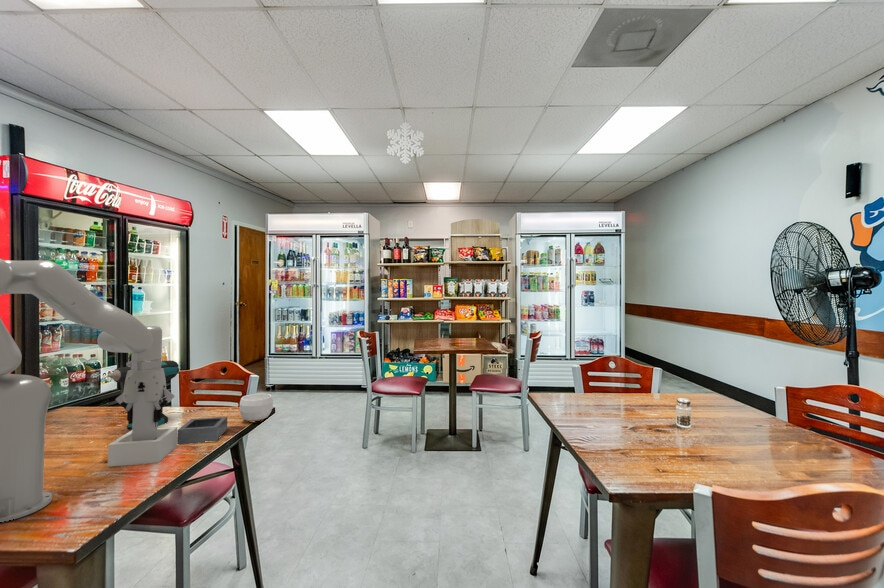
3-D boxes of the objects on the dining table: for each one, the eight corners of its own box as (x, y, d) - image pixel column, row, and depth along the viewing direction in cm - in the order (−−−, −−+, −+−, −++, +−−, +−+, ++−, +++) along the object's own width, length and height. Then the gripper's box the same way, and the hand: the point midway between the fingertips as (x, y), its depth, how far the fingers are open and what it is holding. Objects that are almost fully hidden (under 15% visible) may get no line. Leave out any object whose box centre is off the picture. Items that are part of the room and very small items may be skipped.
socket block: (216, 441, 131) (216, 427, 131) (177, 444, 128) (177, 429, 128) (227, 429, 142) (227, 416, 142) (191, 432, 139) (191, 418, 139)
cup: (277, 415, 160) (278, 393, 160) (263, 425, 148) (263, 401, 148) (249, 415, 160) (249, 392, 161) (232, 424, 148) (233, 400, 148)
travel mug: (126, 444, 117) (128, 379, 117) (150, 437, 123) (152, 376, 123) (136, 447, 114) (138, 382, 114) (160, 440, 120) (162, 378, 120)
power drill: (116, 440, 130) (118, 369, 131) (96, 438, 132) (97, 367, 133) (182, 417, 156) (183, 357, 156) (164, 416, 158) (166, 356, 158)
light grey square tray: (158, 462, 114) (158, 441, 114) (107, 466, 111) (108, 444, 111) (177, 446, 126) (177, 426, 127) (131, 449, 123) (132, 429, 123)
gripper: (106, 368, 113) (105, 427, 113) (172, 366, 117) (170, 423, 117) (121, 363, 120) (119, 420, 120) (182, 362, 125) (181, 416, 124)
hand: (144, 421), depth 118 cm, fingers closed on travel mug, 6 cm apart
